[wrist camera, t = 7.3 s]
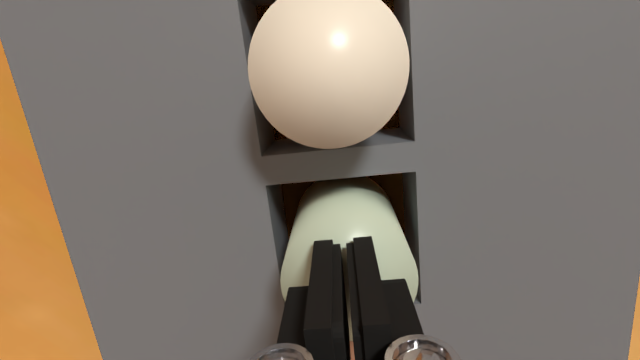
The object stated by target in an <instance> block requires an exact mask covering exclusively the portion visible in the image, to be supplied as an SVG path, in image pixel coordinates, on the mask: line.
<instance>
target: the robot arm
mask: <svg viewBox="0 0 640 360" xmlns="http://www.w3.org/2000/svg"><path fill="white" fill-rule="evenodd" d="M346 249H347V264H348V279H349V294H350V310H351V324H352V336H353V346H354V356H355V360H462V359H461V358H460V356H459V355H458V353H457V352H456V351H455V350H454V349H453V348H452V347H451V345H449V344H448V343H446V342H444V341H443V340H441V339H438V338H436V337H433V336H429V335H424V333H423V330H422V327H421V324H420V321H419V318H418V315H417V312H416V309H415V306H414V303H413V300H412V297H411V294H410V291H409V288H408V285H407V282H406V280H405V279H391V280H381V276H380V272H379V267H378V263H377V258H376V254H375V249H374V245H373V240H372V236H367V237H355V238H353V243H346ZM249 360H351V355H350V337H349V324H348V314H347V304H346V294H345V285H344V275H343V265H342V255H341V246H340V244H333V239H331V240H319V241H314V245H313V253H312V261H311V270H310V278H309V286H298V287H289V288H288V292H287V296H286V301H285V306H284V311H283V315H282V320H281V325H280V330H279V334H278V339H277V344H275V345H271V346H268V347H266V348H264V349H262V350H260V351H258V352H257V353H256V354H255V355H253V356H252V357H251V358H250V359H249Z"/></svg>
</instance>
